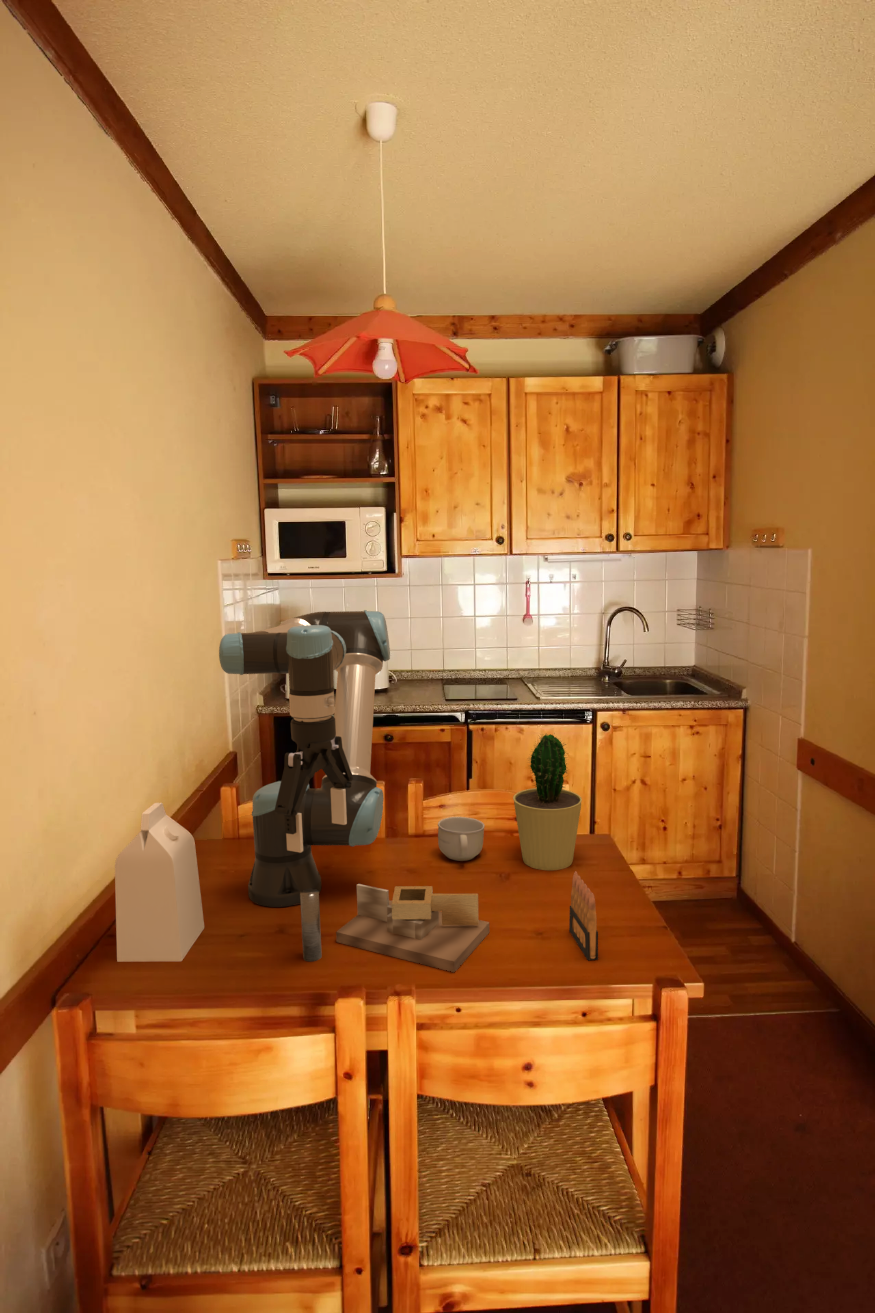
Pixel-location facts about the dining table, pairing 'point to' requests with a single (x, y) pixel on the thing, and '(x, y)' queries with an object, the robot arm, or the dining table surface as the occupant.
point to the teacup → (460, 837)
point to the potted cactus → (547, 810)
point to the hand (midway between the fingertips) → (318, 836)
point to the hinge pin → (310, 924)
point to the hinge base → (409, 933)
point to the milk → (157, 892)
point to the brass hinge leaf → (434, 905)
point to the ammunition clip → (583, 918)
